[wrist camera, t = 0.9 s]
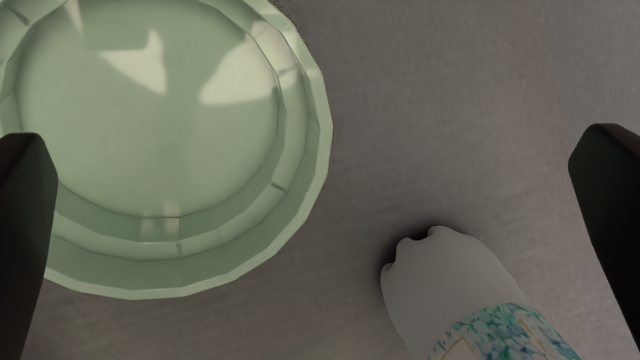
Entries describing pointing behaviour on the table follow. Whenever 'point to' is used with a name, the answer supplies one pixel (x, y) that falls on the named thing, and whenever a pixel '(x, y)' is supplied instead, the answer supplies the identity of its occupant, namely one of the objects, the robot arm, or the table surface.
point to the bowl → (166, 136)
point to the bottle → (463, 303)
